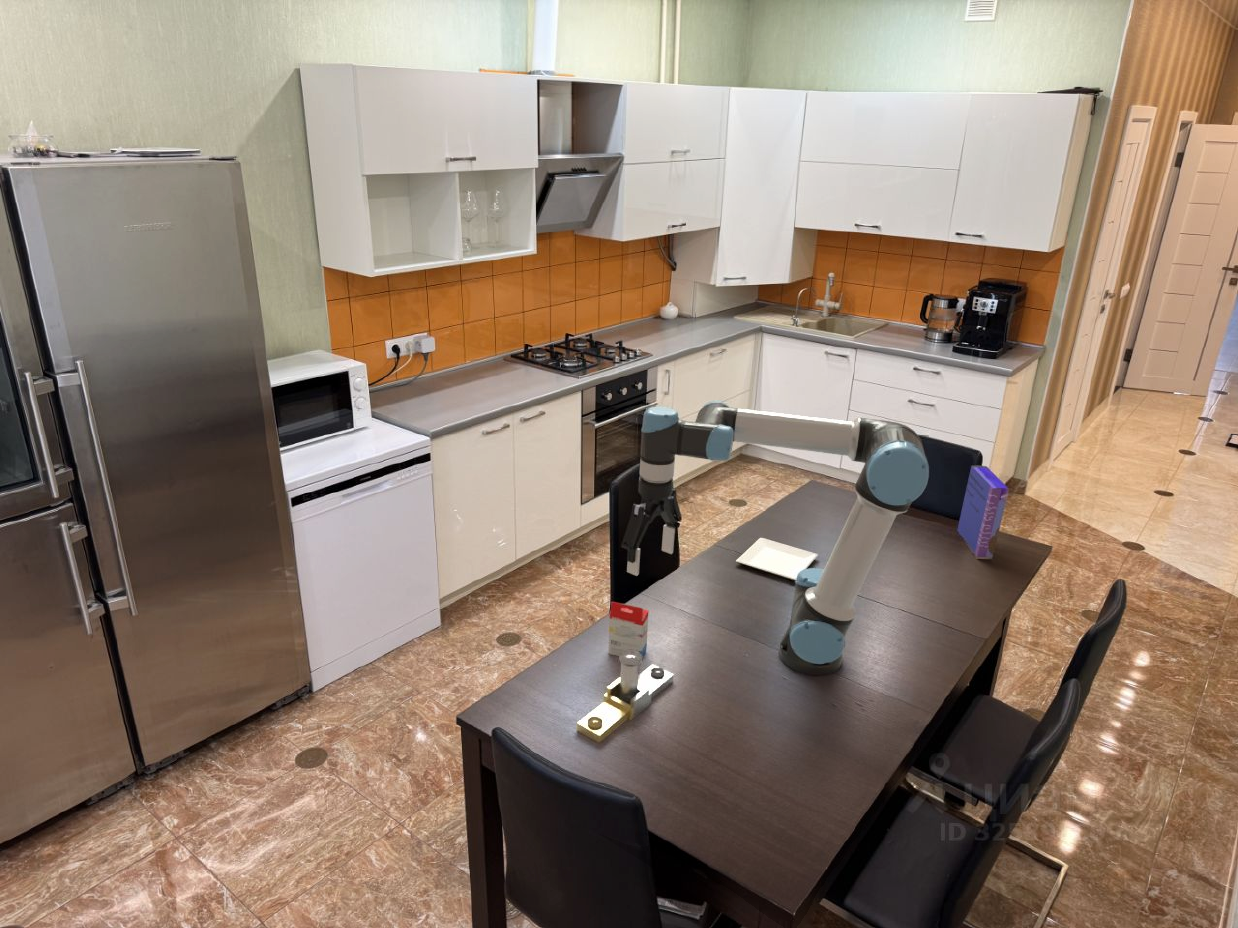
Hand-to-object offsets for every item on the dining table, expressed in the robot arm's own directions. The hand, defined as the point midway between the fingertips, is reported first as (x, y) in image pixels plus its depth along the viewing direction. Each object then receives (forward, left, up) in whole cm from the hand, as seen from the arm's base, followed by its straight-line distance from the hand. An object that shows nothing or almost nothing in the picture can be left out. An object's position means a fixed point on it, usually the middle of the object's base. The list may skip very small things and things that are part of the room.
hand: (650, 562), depth 197 cm
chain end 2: (-7, +11, -27) cm, 30 cm away
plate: (-1, -66, -27) cm, 71 cm away
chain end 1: (-7, +22, -27) cm, 35 cm away
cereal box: (-43, -118, -27) cm, 128 cm away
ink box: (+5, 0, -27) cm, 27 cm away
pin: (-7, +16, -27) cm, 32 cm away
